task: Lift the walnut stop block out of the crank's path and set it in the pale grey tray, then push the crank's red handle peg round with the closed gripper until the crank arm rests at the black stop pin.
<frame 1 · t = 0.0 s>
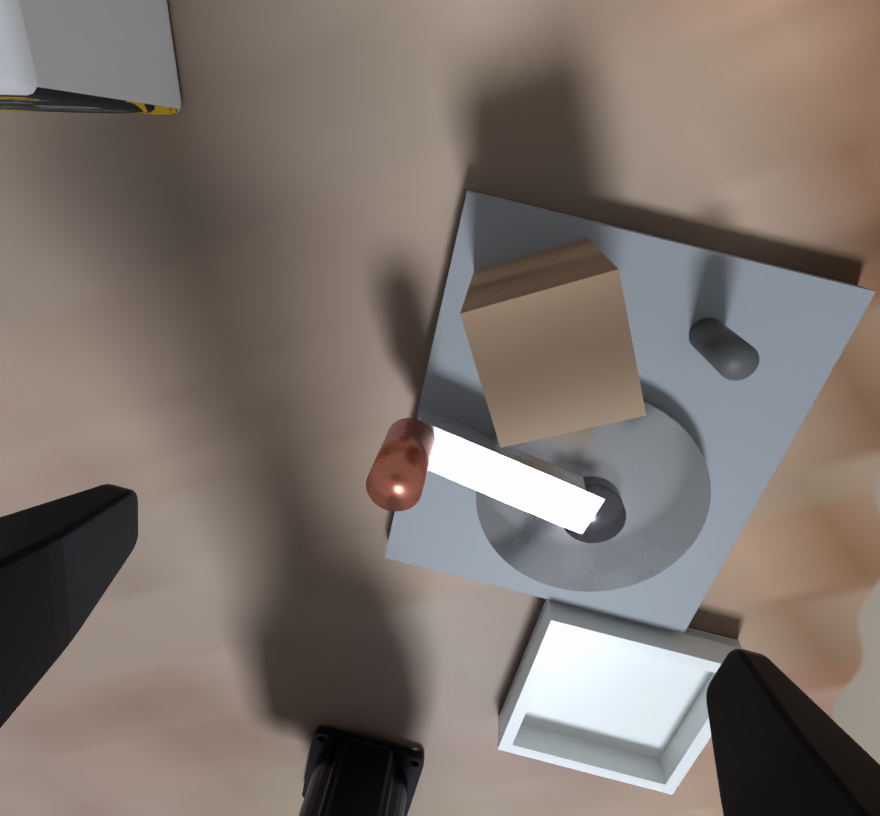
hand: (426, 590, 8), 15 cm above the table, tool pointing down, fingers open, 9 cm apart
crank plate: (584, 477, 24), on the table
stop block: (542, 309, 20), point 1 cm above the table, touching crank plate
crank: (547, 508, 20), point 4 cm above the table, hinge at 80.0°
tray: (609, 681, 28), on the table
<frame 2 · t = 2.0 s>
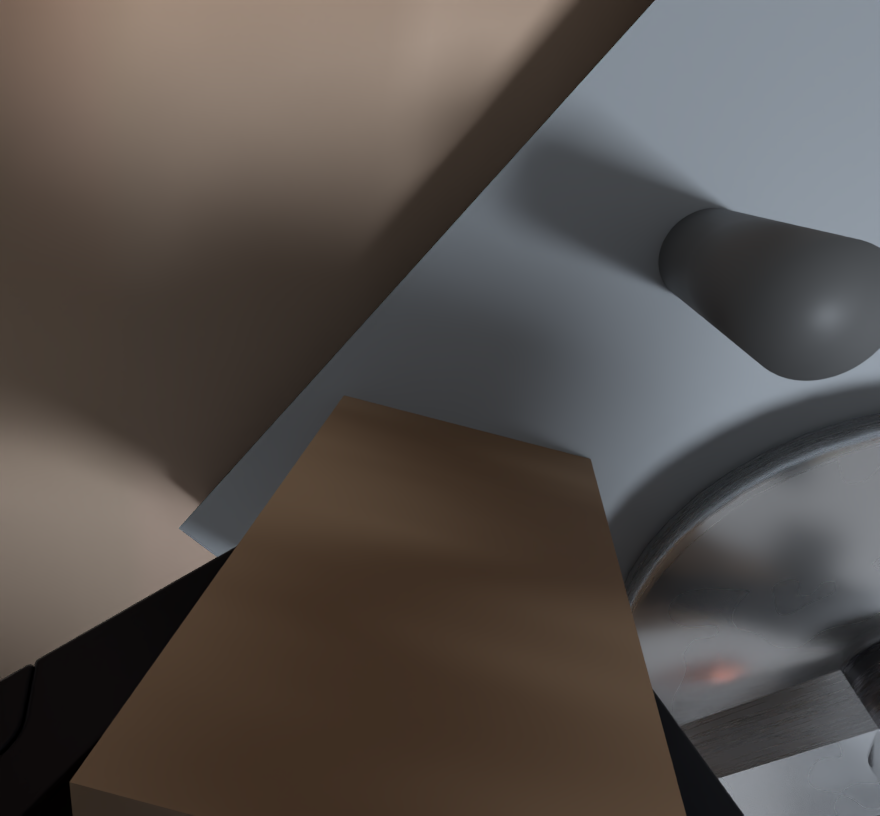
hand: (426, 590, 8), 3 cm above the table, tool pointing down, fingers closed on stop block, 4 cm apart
crank plate: (848, 600, 10), on the table
stop block: (438, 527, 10), point 1 cm above the table, touching crank plate, gripper
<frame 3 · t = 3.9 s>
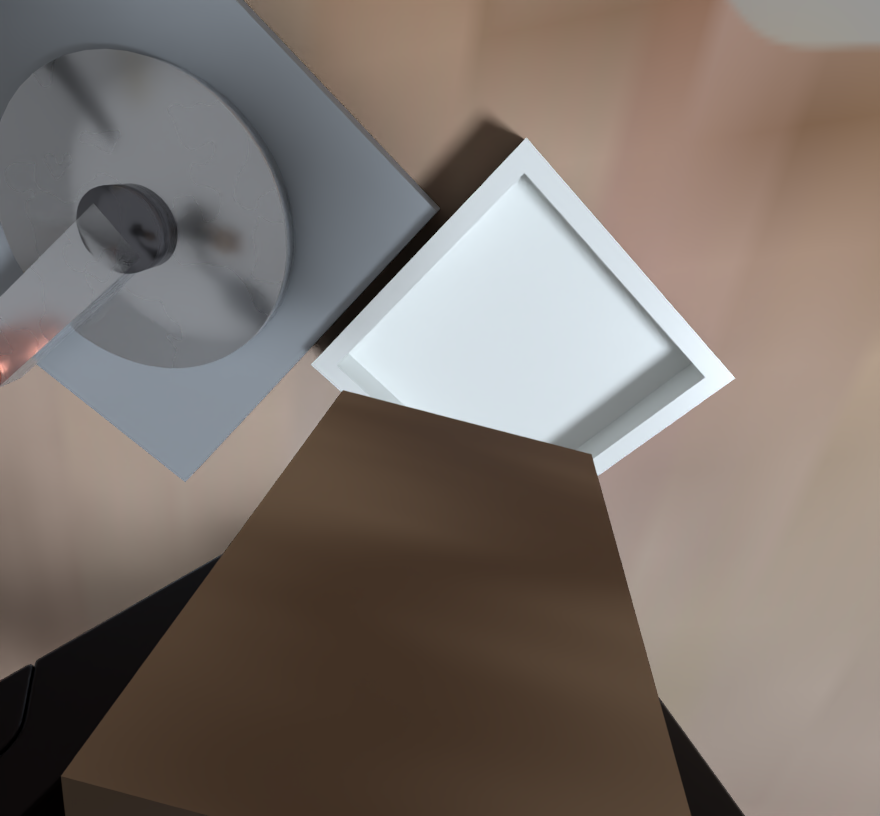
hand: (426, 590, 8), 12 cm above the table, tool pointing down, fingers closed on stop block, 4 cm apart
crank plate: (173, 219, 18), on the table
stop block: (438, 523, 9), point 10 cm above the table, touching gripper
crank: (57, 275, 16), point 4 cm above the table, hinge at 80.0°
tray: (514, 352, 19), on the table
when the fingers open (3 cm above the table, at t = 5.9 s): stop block drops 2 cm, resting on tray.
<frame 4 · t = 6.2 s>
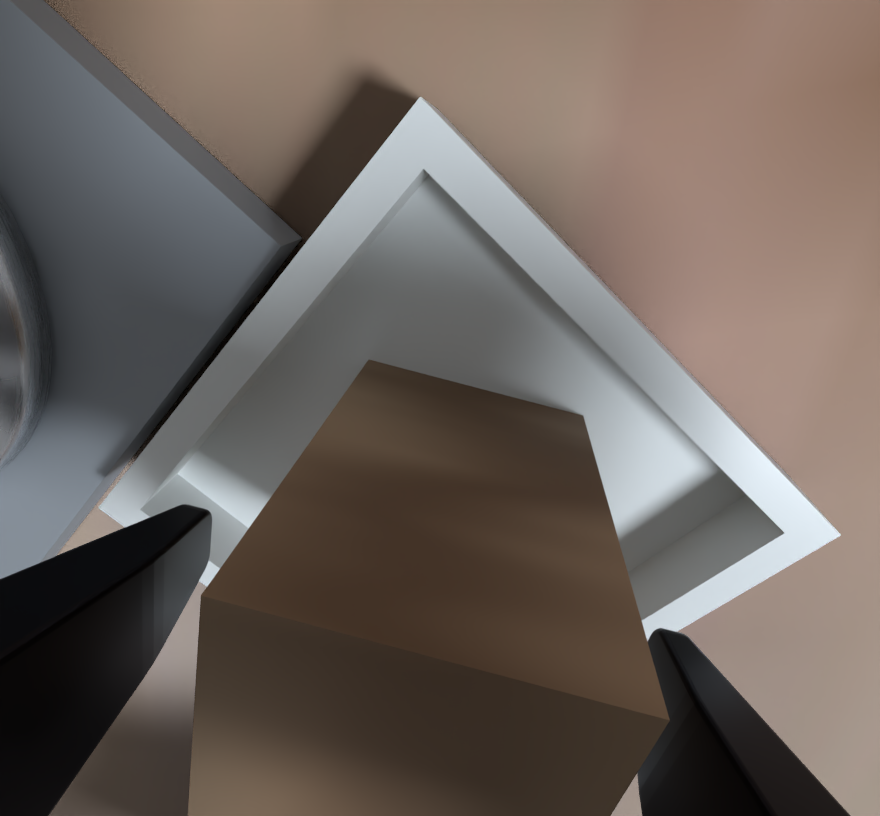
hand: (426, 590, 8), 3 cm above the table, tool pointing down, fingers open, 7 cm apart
stop block: (449, 478, 11), resting on tray
tray: (449, 468, 11), on the table
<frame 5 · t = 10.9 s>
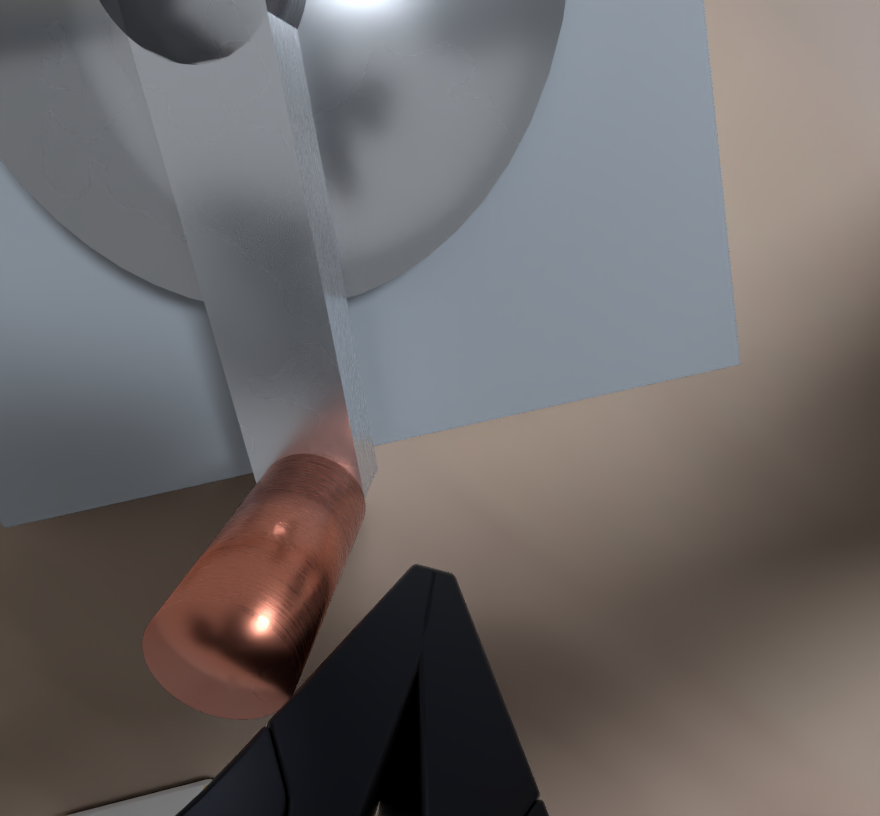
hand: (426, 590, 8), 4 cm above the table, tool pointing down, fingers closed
crank plate: (274, 4, 9), on the table
crank: (192, 129, 6), point 4 cm above the table, hinge at 79.7°, touching gripper
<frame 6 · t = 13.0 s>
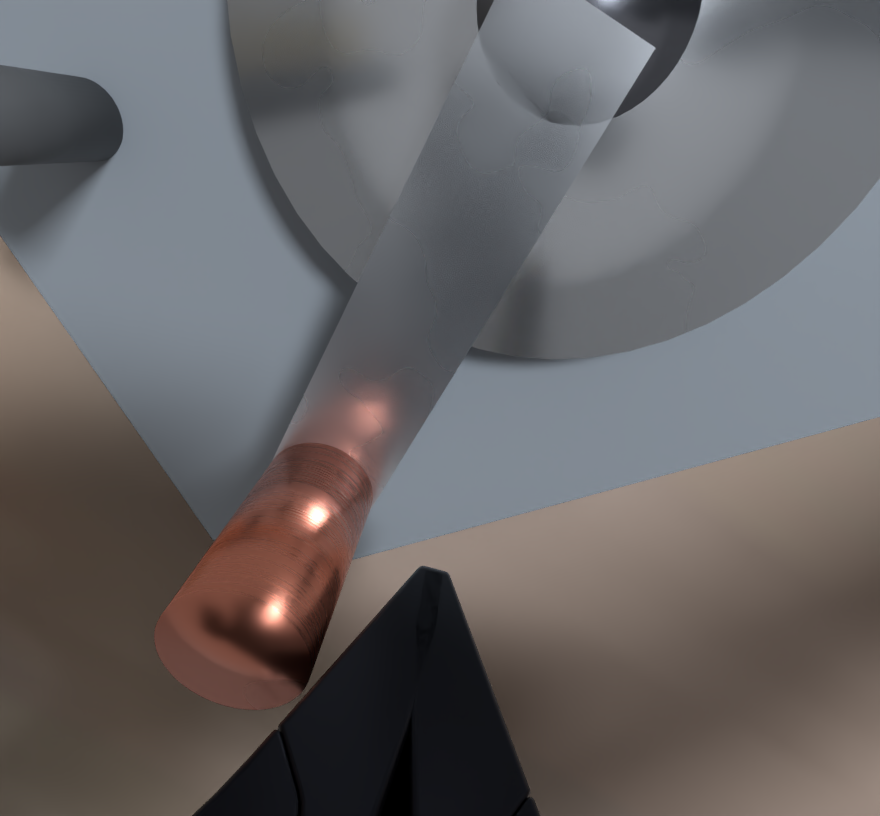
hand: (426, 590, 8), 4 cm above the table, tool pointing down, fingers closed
crank plate: (561, 43, 9), on the table
crank: (492, 175, 6), point 4 cm above the table, hinge at 38.5°, touching gripper
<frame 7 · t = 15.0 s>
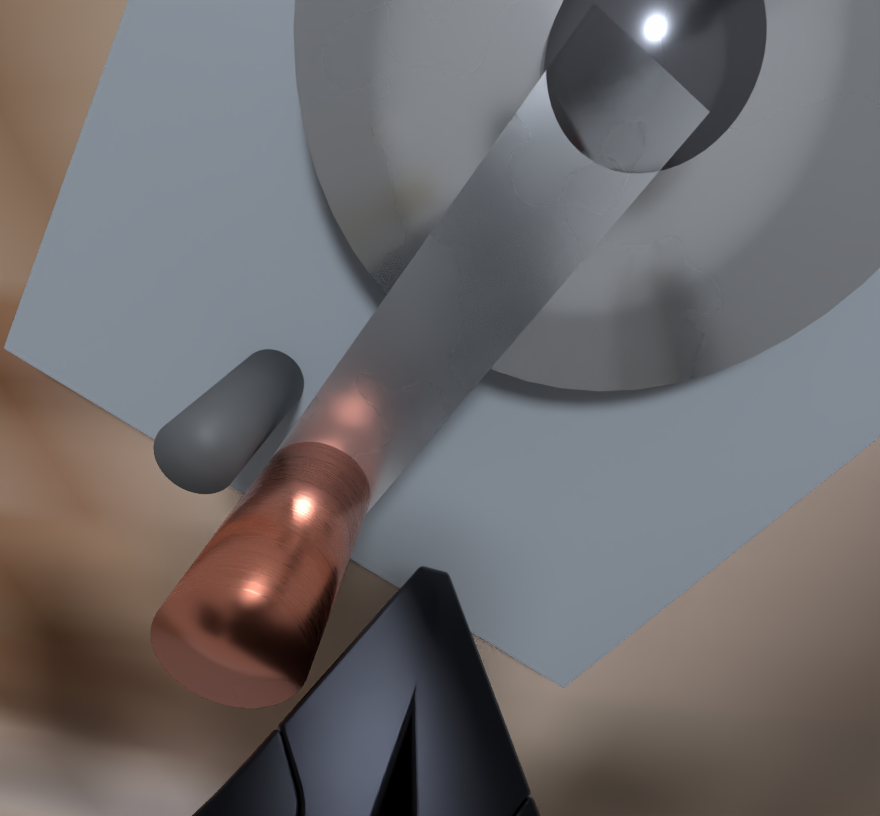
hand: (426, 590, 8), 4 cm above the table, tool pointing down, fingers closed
crank plate: (606, 87, 9), on the table
crank: (544, 209, 6), point 4 cm above the table, hinge at -1.3°, touching gripper
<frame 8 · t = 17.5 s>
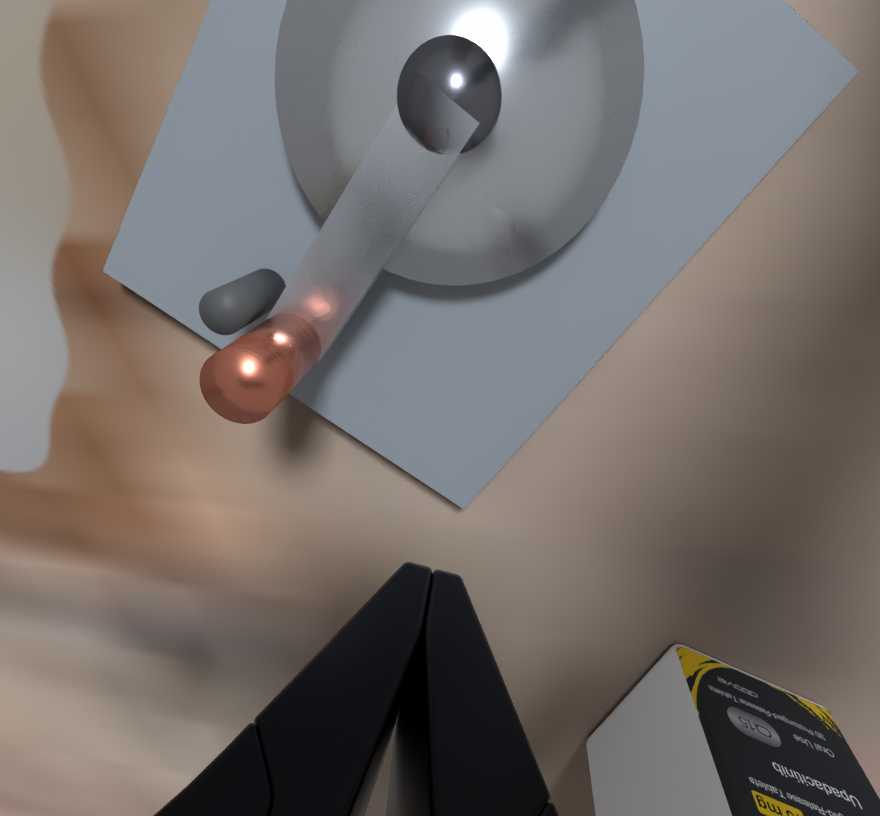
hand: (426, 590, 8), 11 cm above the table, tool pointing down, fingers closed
crank plate: (459, 107, 15), on the table
crank: (394, 172, 13), point 4 cm above the table, hinge at -1.4°
medicine bottle: (697, 718, 24), on the table
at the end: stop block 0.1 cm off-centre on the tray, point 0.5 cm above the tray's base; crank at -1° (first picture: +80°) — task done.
